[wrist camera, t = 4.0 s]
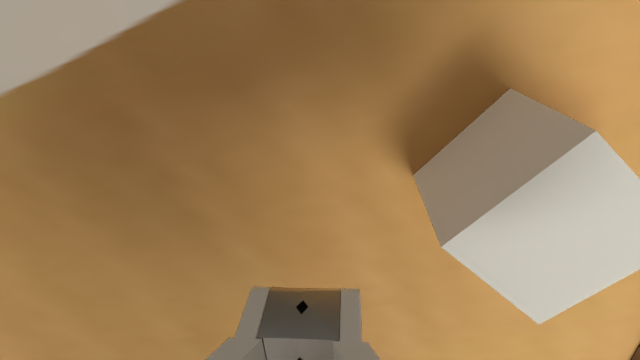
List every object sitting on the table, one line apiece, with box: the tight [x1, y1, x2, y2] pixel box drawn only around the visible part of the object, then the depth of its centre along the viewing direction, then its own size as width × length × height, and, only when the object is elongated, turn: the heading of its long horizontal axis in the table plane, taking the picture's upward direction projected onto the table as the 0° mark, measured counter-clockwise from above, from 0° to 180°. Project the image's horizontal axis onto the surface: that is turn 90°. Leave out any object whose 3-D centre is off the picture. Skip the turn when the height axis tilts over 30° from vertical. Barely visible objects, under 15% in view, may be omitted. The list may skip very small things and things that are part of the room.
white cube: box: [413, 88, 640, 324], centre depth 15 cm, size 6×6×6 cm
